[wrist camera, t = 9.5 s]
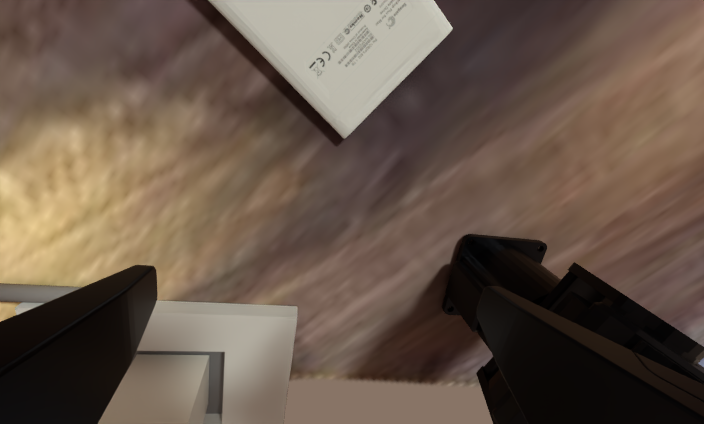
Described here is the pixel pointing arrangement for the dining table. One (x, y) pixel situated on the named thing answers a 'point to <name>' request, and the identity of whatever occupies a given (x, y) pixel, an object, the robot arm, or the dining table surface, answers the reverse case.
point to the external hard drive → (340, 47)
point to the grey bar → (32, 292)
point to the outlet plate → (228, 353)
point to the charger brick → (161, 391)
